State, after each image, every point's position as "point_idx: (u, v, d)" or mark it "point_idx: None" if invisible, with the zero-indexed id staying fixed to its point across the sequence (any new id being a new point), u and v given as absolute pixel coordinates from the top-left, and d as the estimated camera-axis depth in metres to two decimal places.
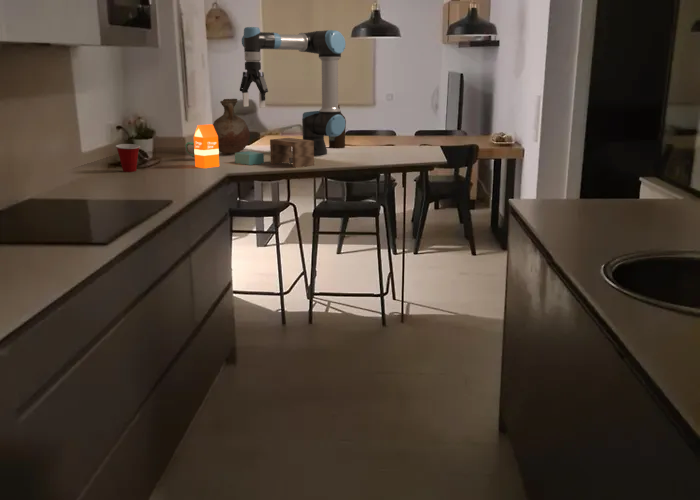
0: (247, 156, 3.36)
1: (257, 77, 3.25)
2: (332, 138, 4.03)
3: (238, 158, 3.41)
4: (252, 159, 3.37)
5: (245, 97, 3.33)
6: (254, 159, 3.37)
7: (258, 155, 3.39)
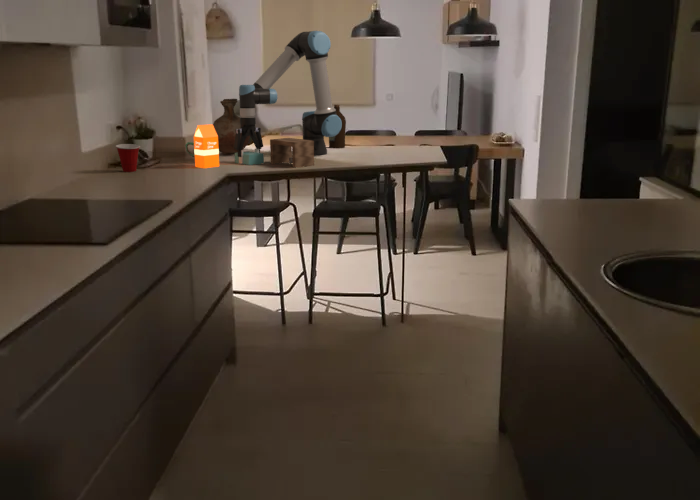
0: (247, 156, 3.36)
1: (244, 133, 3.37)
2: (332, 138, 4.03)
3: (238, 158, 3.41)
4: (252, 159, 3.37)
5: None
6: (254, 159, 3.37)
7: (258, 155, 3.39)
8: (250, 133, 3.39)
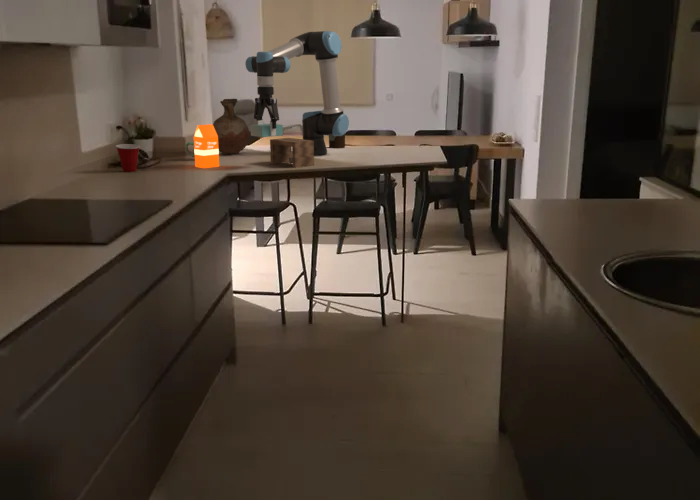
0: (280, 126, 3.23)
1: (270, 103, 3.18)
2: (332, 138, 4.03)
3: (267, 131, 3.18)
4: None
5: None
6: None
7: None
8: None
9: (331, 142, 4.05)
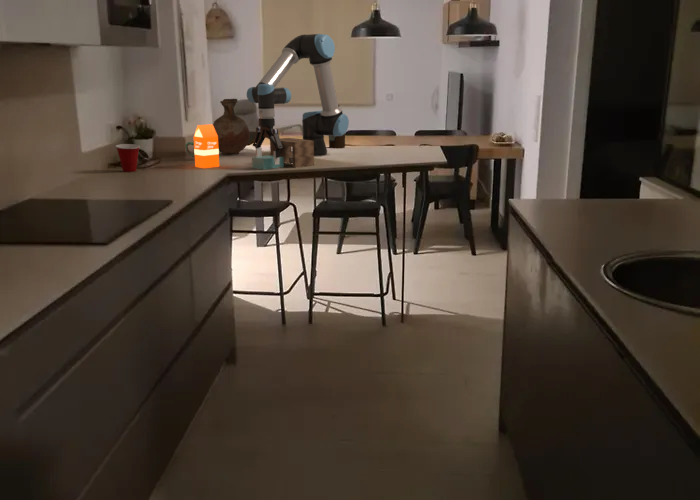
0: (281, 158, 3.27)
1: (271, 133, 3.22)
2: (332, 138, 4.03)
3: (268, 164, 3.22)
4: None
5: (258, 152, 3.30)
6: None
7: None
8: None
9: (331, 142, 4.05)
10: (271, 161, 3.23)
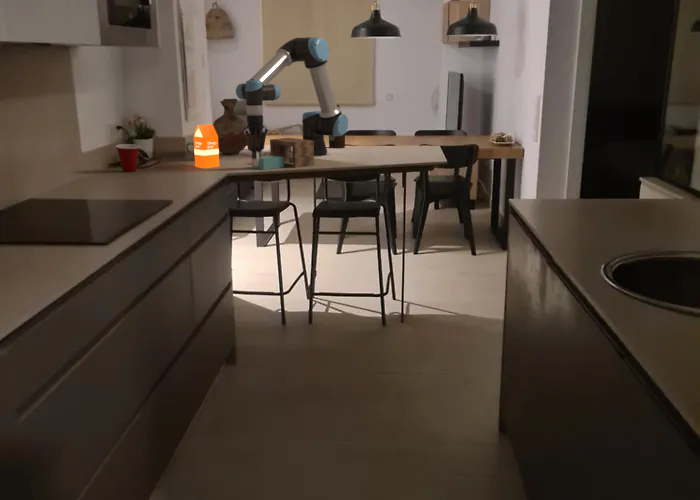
0: (281, 158, 3.27)
1: None
2: (332, 138, 4.03)
3: (269, 164, 3.22)
4: None
5: None
6: None
7: None
8: (257, 132, 3.18)
9: (331, 142, 4.05)
10: (271, 161, 3.23)
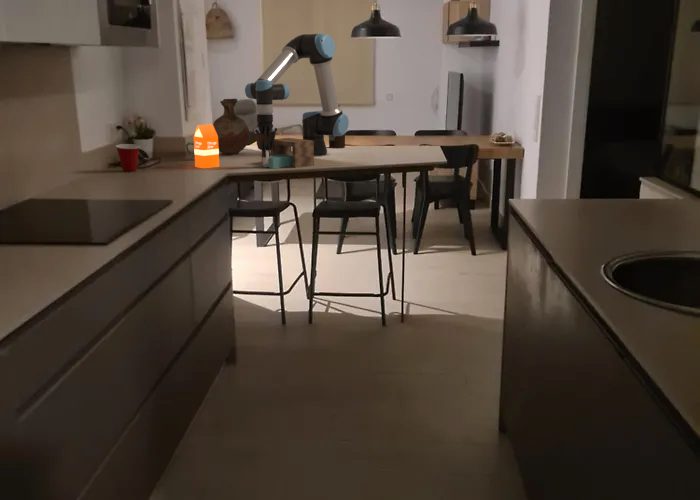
0: (290, 157, 3.31)
1: None
2: (332, 138, 4.03)
3: (278, 162, 3.26)
4: None
5: None
6: None
7: None
8: (267, 131, 3.22)
9: (331, 142, 4.05)
10: (281, 160, 3.27)
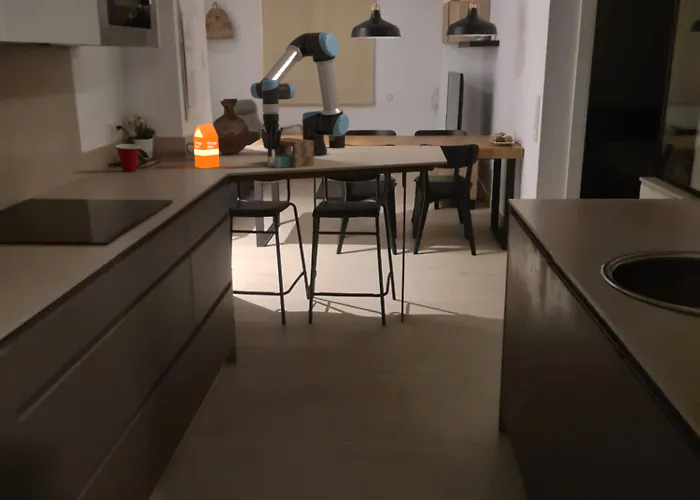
0: None
1: None
2: (332, 138, 4.03)
3: (284, 162, 3.28)
4: None
5: None
6: None
7: None
8: (273, 130, 3.25)
9: (331, 142, 4.05)
10: (286, 159, 3.29)
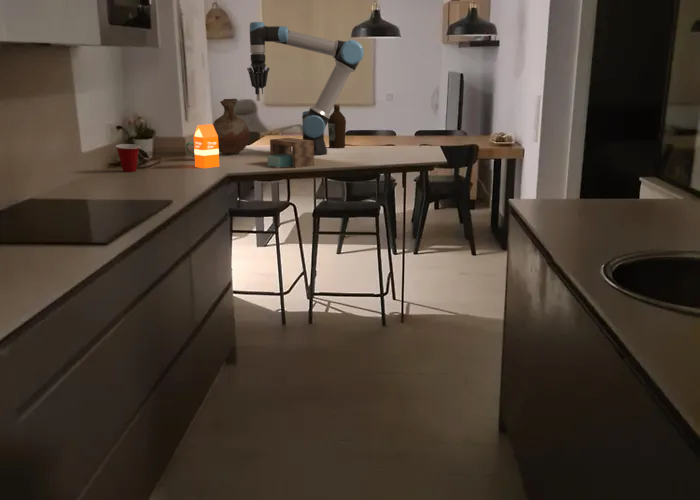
0: None
1: None
2: (332, 138, 4.03)
3: (284, 162, 3.28)
4: None
5: None
6: None
7: None
8: (260, 69, 3.53)
9: (331, 142, 4.05)
10: (286, 159, 3.29)
